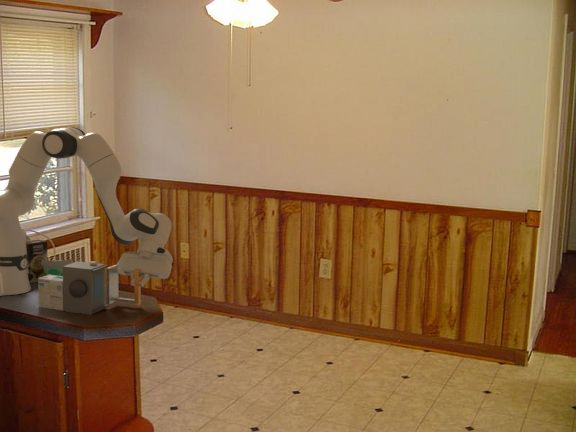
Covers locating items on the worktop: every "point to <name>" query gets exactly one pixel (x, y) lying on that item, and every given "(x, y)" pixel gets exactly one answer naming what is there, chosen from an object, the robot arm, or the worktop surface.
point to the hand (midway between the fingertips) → (136, 285)
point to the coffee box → (35, 259)
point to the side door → (113, 286)
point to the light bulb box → (51, 292)
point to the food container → (55, 266)
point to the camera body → (84, 287)
